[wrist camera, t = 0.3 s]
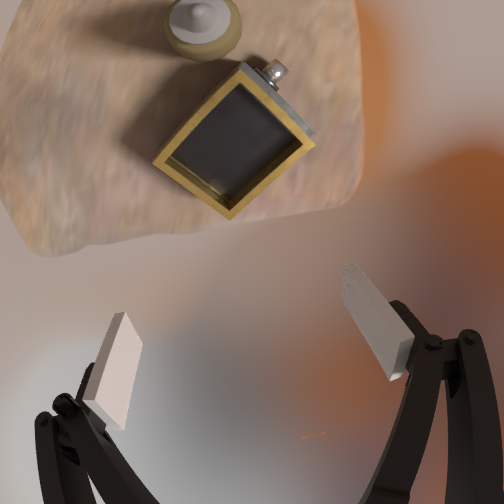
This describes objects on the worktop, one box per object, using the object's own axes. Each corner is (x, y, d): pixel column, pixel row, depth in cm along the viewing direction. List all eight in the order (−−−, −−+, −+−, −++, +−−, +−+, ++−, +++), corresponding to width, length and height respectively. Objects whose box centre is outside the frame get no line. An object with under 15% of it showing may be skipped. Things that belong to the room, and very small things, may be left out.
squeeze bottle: (168, 12, 23) (126, -20, 9) (234, 0, 23) (252, -46, 9) (179, 67, 28) (146, 80, 15) (244, 55, 28) (269, 55, 15)
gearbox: (258, 46, 28) (269, 44, 22) (319, 109, 34) (340, 123, 28) (158, 148, 35) (147, 170, 29) (222, 196, 41) (224, 225, 36)
